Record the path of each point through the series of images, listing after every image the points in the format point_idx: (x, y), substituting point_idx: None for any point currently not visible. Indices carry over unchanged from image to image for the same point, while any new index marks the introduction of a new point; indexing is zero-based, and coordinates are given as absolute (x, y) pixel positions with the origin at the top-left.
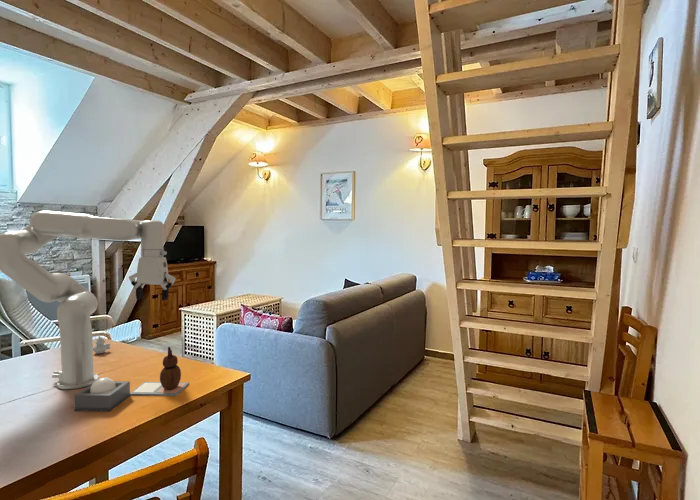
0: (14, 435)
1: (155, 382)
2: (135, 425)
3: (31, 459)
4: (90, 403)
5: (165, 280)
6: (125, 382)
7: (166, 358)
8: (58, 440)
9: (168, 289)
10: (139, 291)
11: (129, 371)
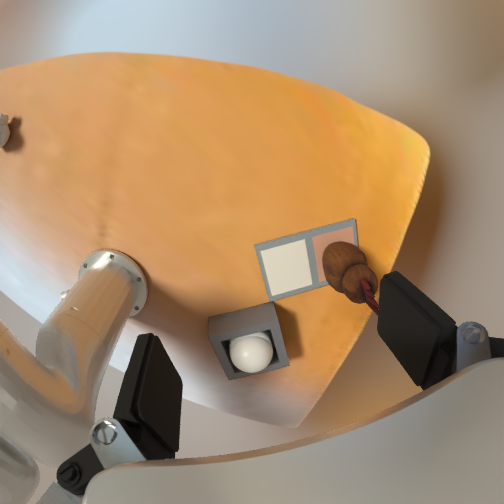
0: (219, 405)
1: (282, 241)
2: (345, 355)
3: (283, 416)
4: None
5: (497, 380)
6: (273, 325)
7: (362, 302)
8: (279, 398)
9: (461, 333)
10: (172, 426)
11: (152, 193)
